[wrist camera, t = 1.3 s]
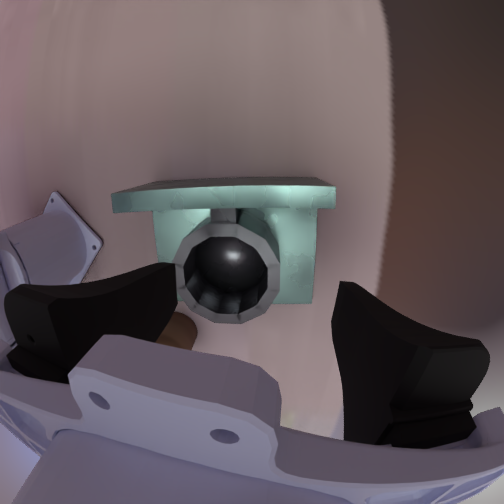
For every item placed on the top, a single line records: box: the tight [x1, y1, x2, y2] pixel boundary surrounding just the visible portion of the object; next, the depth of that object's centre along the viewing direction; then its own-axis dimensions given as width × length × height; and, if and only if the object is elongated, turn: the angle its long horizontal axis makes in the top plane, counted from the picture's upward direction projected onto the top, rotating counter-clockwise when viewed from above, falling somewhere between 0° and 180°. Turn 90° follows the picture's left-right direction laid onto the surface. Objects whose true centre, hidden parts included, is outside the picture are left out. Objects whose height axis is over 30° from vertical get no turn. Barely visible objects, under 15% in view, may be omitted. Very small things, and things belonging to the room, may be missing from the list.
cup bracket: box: [111, 177, 336, 324], centre depth 19 cm, size 10×13×7 cm
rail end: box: [155, 312, 197, 350], centre depth 22 cm, size 4×4×8 cm
